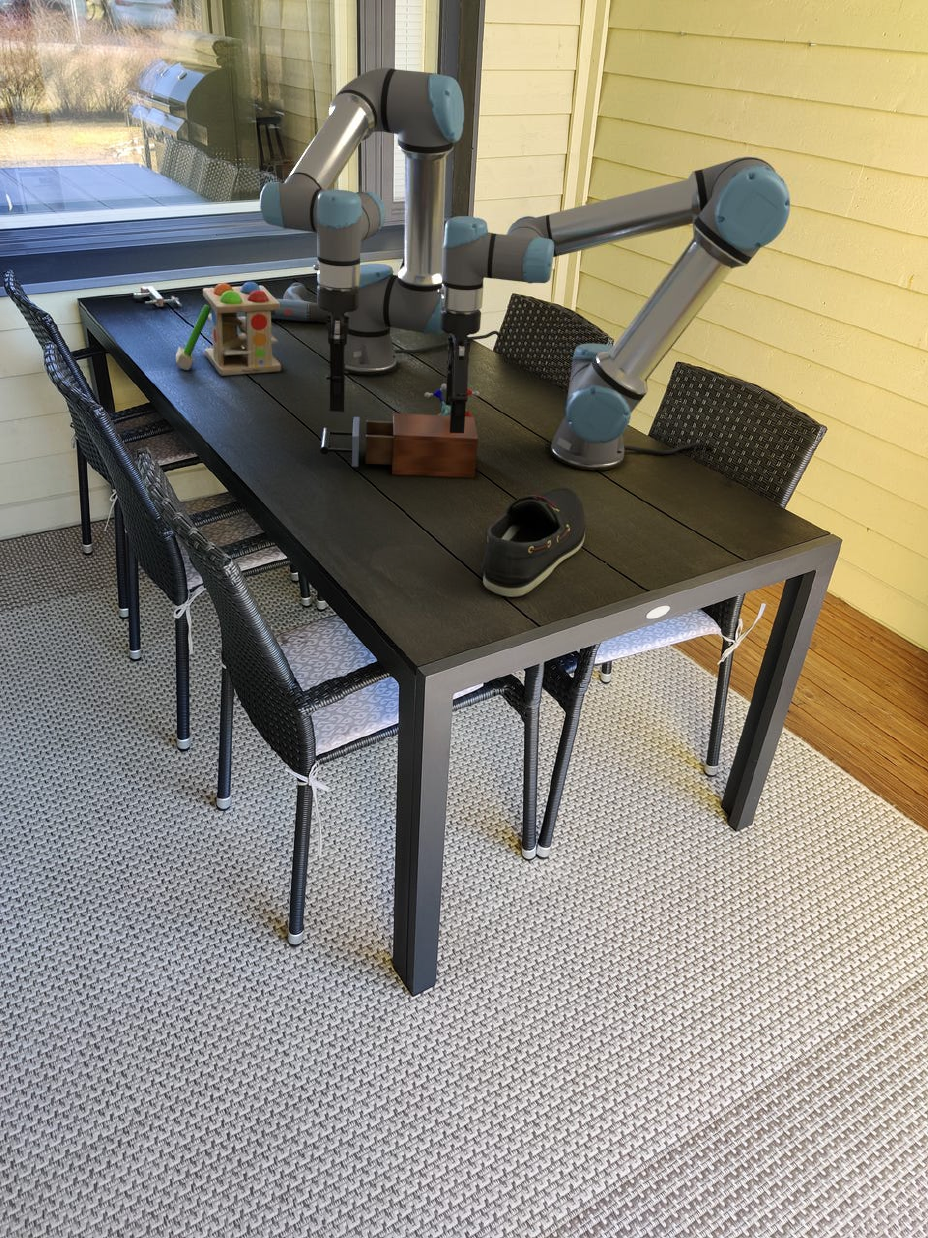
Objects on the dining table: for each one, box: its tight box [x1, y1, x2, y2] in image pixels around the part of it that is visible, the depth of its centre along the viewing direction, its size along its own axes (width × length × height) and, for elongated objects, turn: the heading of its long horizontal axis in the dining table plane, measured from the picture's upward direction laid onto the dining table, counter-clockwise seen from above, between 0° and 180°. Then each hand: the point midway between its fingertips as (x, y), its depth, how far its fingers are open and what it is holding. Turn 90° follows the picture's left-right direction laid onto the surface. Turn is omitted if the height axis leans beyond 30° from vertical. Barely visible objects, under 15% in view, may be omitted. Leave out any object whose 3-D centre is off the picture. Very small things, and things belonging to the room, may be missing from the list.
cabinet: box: [391, 412, 479, 478], centre depth 193 cm, size 16×11×8 cm, turn 94°
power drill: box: [271, 282, 331, 322], centre depth 265 cm, size 5×19×20 cm
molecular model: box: [424, 383, 480, 417], centre depth 211 cm, size 12×10×10 cm
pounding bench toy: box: [174, 281, 282, 377], centre depth 225 cm, size 23×14×18 cm, turn 116°
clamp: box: [133, 285, 183, 308], centre depth 263 cm, size 15×2×10 cm
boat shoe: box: [481, 487, 586, 598], centre depth 167 cm, size 13×33×10 cm, turn 147°
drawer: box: [319, 416, 394, 468], centre depth 192 cm, size 21×9×6 cm, turn 94°
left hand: (337, 410), depth 188 cm, fingers closed
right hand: (454, 418), depth 190 cm, fingers open, 13 cm apart
